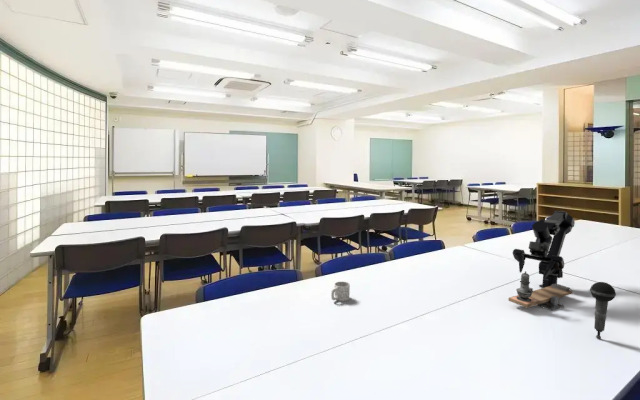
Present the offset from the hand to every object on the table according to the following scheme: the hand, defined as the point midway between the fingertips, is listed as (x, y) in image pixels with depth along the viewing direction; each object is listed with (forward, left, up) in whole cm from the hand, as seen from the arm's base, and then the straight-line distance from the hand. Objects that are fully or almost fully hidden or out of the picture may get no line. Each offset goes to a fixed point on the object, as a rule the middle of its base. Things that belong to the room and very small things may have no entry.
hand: (532, 274), depth 144 cm
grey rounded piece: (+8, +2, -9) cm, 12 cm away
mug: (+72, -40, -13) cm, 83 cm away
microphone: (+9, +29, -13) cm, 33 cm away
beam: (-4, +2, -9) cm, 10 cm away
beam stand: (-4, +2, -13) cm, 13 cm away
